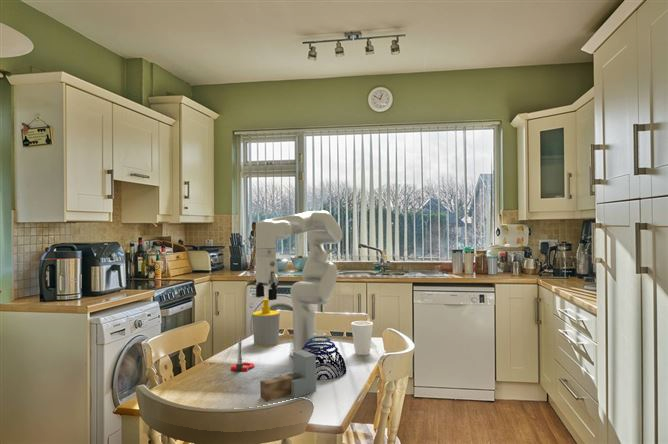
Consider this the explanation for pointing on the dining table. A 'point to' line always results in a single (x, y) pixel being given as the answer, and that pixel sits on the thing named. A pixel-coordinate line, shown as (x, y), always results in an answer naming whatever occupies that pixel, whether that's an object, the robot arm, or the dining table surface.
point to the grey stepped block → (303, 373)
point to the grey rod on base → (240, 364)
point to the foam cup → (362, 336)
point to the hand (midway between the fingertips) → (266, 298)
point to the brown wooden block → (277, 387)
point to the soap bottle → (266, 326)
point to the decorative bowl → (321, 360)
